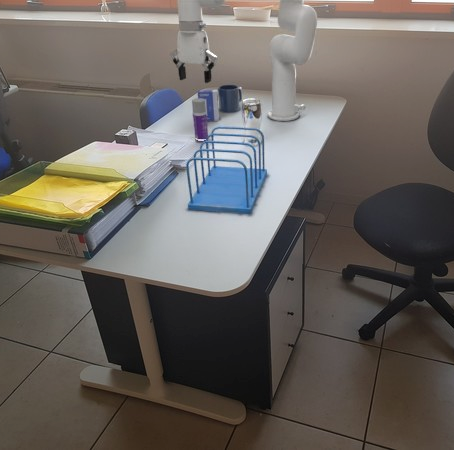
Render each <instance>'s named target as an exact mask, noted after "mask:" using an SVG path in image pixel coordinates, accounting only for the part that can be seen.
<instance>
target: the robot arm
mask: <svg viewBox="0 0 454 450" xmlns="http://www.w3.org/2000/svg"><path fill="white" fill-rule="evenodd" d="M226 1H227V0H176V3H177V15H178V26H179V30H178V31H177V32H178V33H177V39H176V40H177V41H176V42H177V43H176V45H177V46H176V49H175V50H174V51H172V52H170V54H169V55H170V57H171V60H172V63H174V65H175V66H176V68H177V70H178V77H179V81H183V80H185V79H187V72H186V66H185V64H192V65H201V66H202V67H203V68H204V71H203V77H204V83H205V84H208V83H210V82H212V70H213V68H214V67H215V66H216V63H217V60H218V55H215V54H214V53H213V52H211V51H210V43H209V39H208V34H207V31H206V30H204V29H206V28H207V23H204V20H203V19H204V18H203V8H206V9H207V8H208V9H209V8H210V9H217V8H221V6H223V5H224V4H225V3H226ZM304 2H305V1H304V0H280V1H279V5H278V12H277V13H278V15H277V25H278V27H279V28H280V29H282V30H284V31H287V32H291V33H294V35H291V34H286V33H284V34H283V33H281V34H276V35H275V36H273V38H272V39H271V40H270V41H269V46H268V47H269V48H268V49H269V57H270V63H271V111H269V112H268V113H267V116H268V118H269V119H271V120H273V121H279V122H289V121H294V120H297V119H298V118H299V116H300V113H299V111H300V110H305V109H306V105H305V104H299V103H296V93H297V90H296V89H297V69H296V65H298V66H303V65H305V64H307V63H308V62H309V60H310V59H311V56H312V54H313V49H314V45H315V39H316V32H317V28H318V15H317V12H316V10H315V9H314V7H312V6H311V5H308V4H304Z"/></svg>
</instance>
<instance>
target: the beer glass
mask: <svg viewBox="0 0 454 450" xmlns="http://www.w3.org/2000/svg"><path fill="white" fill-rule="evenodd" d="M241 119H242V124H243V128H256V129H259V130H260V131H261V126H262V119H263V108H262V100H261V99H258V98H246V99H242V101H241ZM244 135H253V136H255V137H257V138H258V139H259V141H260V144H262V137H261V134H260V133H259V132H258V131H256V130H244ZM243 143H249V144H251V145H253V146H254V147H255V146H258V142H257V140H256V139H254V138H251V137H244V141H243Z"/></svg>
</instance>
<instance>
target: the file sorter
mask: <svg viewBox="0 0 454 450" xmlns="http://www.w3.org/2000/svg"><path fill="white" fill-rule="evenodd" d="M218 129H219V130H220V129H221V130H243V131H245V130H256V131H258V132H259V133H260V137H261V143H260V141H259V139H258V138H257V137H255V136H253V135H245V134H240V133H219V132H218V133H217V132H215V131H216V130H218ZM214 136H215V137H235V138H236V137H237V138H238V137H239V138H245V137H251V138H254V139H256V140H257V142H258V145H257V146H258V164H257V149H256V148H255V146H253V145H251V144H249V143H244V141H243V142H242V141H224V140H214ZM209 138H211V140H209ZM209 144H211V148H209ZM215 144H220V145H221V144H222V145H223V144H224V145H238V146H239V145H240V146H248V147H249V148H251V149H252V151H253V158H252V156H251V154H249V152H247V151H246V150H245V151H244V150H234V149H217V148H215ZM204 145H205V148H203V146H204ZM261 151H262V152H261ZM203 152H206V157H203ZM210 152H212V158H211V157H210ZM198 153H199V157H197V154H198ZM216 153H230V154H231V153H232V154H243V155H246V157H248V159H249V167H247V166H246V164H245V163H244V162H243V161H241V160H239V159H230V158H229V159H228V158H216ZM261 156H262V157H261ZM192 161H193V165H194V176H195V183H196V191H195V192H194V194H193V192H192V184H191V183H192V182H191V176H190V175H191V174H190V167H189V165H190V163H191V162H192ZM197 161H200V166H201V167H200V168H201V176H202V177H201V178H202V181H201V183H200V185H199V176H198V168H197V167H198V166H197ZM204 161H206V162H207V174H206V176H205V167H204ZM210 162H213V166H212V167H211V164H210ZM216 162H223V163H224V162H225V163H238V164H239V165H241V166H242V167H236V166H235V167H234V166H219V165H217V163H216ZM253 162H254V168H253ZM257 165H258V167H257ZM185 168H186V178H187V184H188V192H189V193H188V194H189V202H188V203H187V209H188V210H191V211H204V212H205V211H206V212H217V213H232V214H245V215H251V214H252V213H253V209H254V207H255V205H256V202H257V199H258V198H259V195H260V192H261V191H262V188H263V185H264V183H265V180H266V178H267V175H268V169H266V168H265V136H264V133H263V131H261V129H260V130H259V129H256V128H244V126H242V127H241V126H240V127H239V126H216V127H214V128H213V129H212V130H211V133H210V134H208V137H207V138H206V141H205V142H203V143H200V146H199V149H197V150H196V151H195V152H194V153H193V157H191V158H189V159H188V160H187V162H186V164H185Z"/></svg>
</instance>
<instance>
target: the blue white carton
mask: <svg viewBox="0 0 454 450" xmlns="http://www.w3.org/2000/svg"><path fill="white" fill-rule="evenodd" d="M197 98H203V99H205V106H206V116H207V122H215V121H217V122H219V121H220V110H219V96H218V89H207V90H206V89H205V90H203V89H201V90H197Z"/></svg>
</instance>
